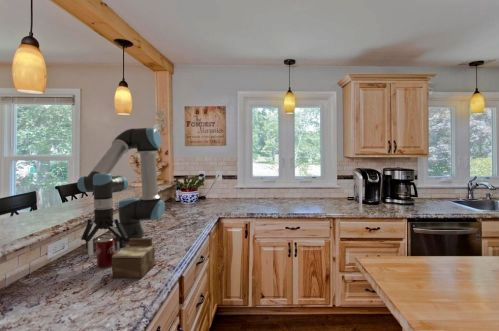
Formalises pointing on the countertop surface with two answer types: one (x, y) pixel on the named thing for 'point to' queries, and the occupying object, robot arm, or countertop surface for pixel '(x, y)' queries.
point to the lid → (135, 248)
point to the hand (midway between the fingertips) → (105, 255)
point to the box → (133, 266)
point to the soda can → (105, 252)
